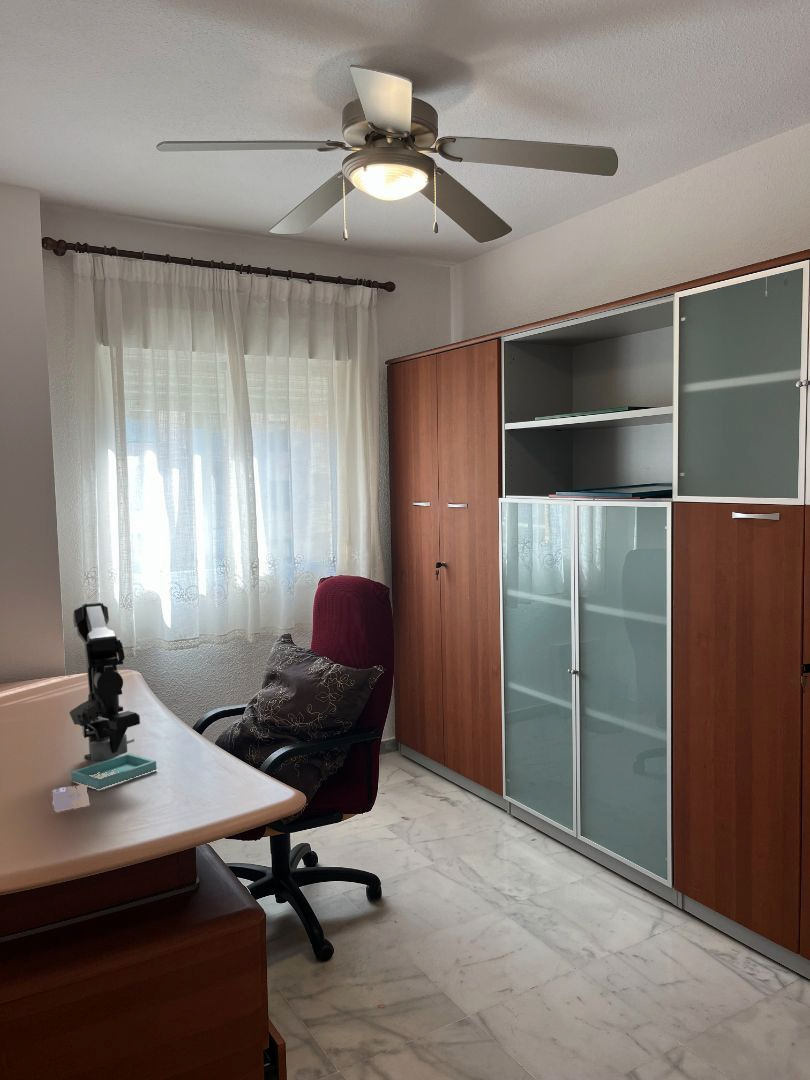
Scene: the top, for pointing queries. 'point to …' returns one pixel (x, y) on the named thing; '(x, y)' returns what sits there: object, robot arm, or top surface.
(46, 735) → the top surface
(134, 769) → the desk tray
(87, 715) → the robot arm
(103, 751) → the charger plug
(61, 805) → the mobile phone
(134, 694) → the top surface
